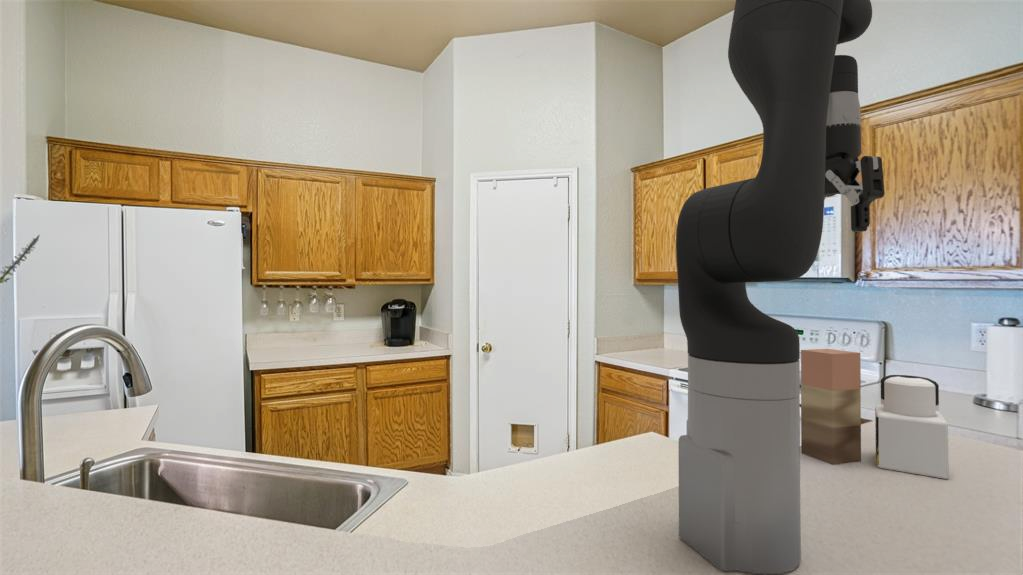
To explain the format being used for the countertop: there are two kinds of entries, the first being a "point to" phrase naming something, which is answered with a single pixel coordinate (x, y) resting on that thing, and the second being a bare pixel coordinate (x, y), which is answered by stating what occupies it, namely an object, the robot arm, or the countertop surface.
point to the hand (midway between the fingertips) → (832, 234)
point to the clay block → (831, 369)
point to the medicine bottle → (911, 427)
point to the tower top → (831, 406)
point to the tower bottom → (831, 442)
